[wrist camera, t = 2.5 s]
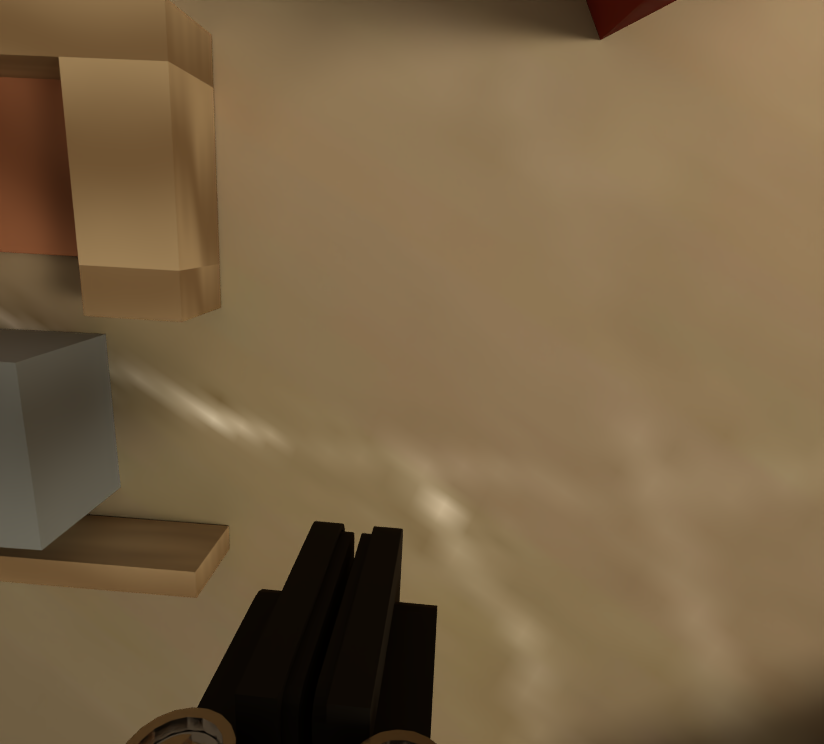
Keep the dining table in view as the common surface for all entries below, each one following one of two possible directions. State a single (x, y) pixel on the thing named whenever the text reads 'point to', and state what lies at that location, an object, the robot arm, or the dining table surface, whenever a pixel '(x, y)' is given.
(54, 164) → the channel
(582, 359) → the dining table surface
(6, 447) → the block
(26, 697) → the dining table surface
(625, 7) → the french fries
